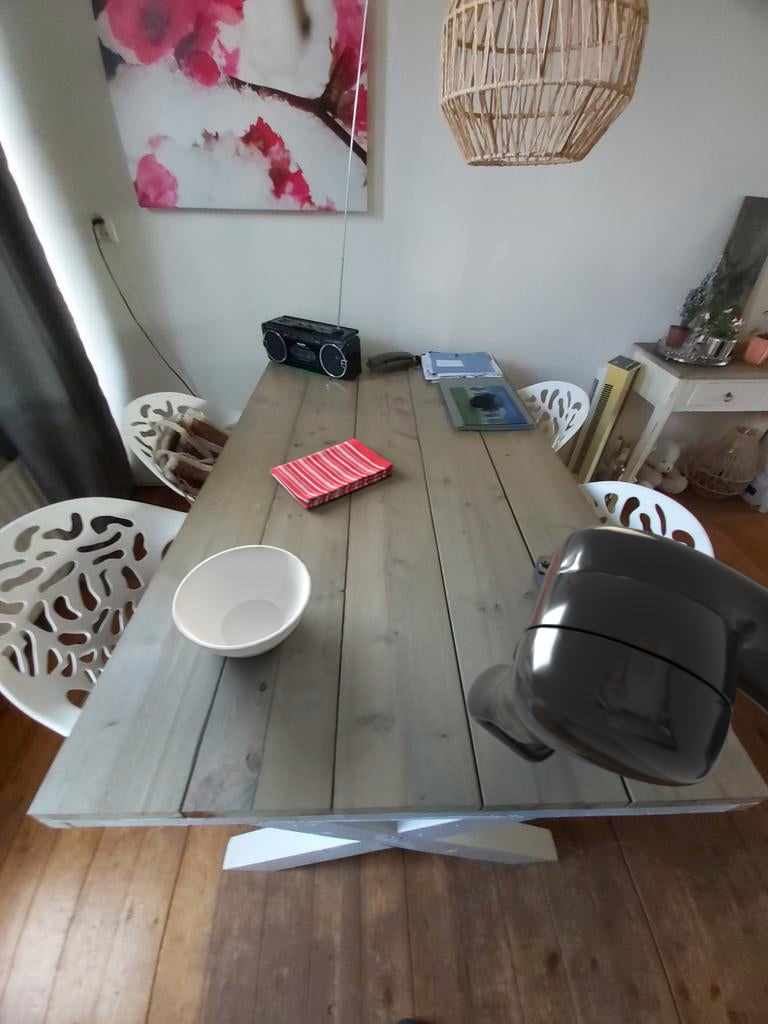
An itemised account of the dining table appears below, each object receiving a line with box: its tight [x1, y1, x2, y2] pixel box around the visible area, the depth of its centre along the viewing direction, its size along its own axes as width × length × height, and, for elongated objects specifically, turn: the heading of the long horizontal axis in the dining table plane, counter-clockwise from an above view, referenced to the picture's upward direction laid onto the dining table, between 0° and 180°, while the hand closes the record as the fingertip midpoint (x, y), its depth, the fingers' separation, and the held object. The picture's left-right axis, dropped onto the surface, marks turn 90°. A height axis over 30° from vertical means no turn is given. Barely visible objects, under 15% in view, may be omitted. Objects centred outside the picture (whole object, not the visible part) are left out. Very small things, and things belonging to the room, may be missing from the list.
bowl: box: [171, 544, 312, 659], centre depth 66 cm, size 19×20×8 cm
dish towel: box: [269, 438, 394, 511], centre depth 101 cm, size 17×24×3 cm
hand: (602, 550), depth 70 cm, fingers closed on cork, 4 cm apart
